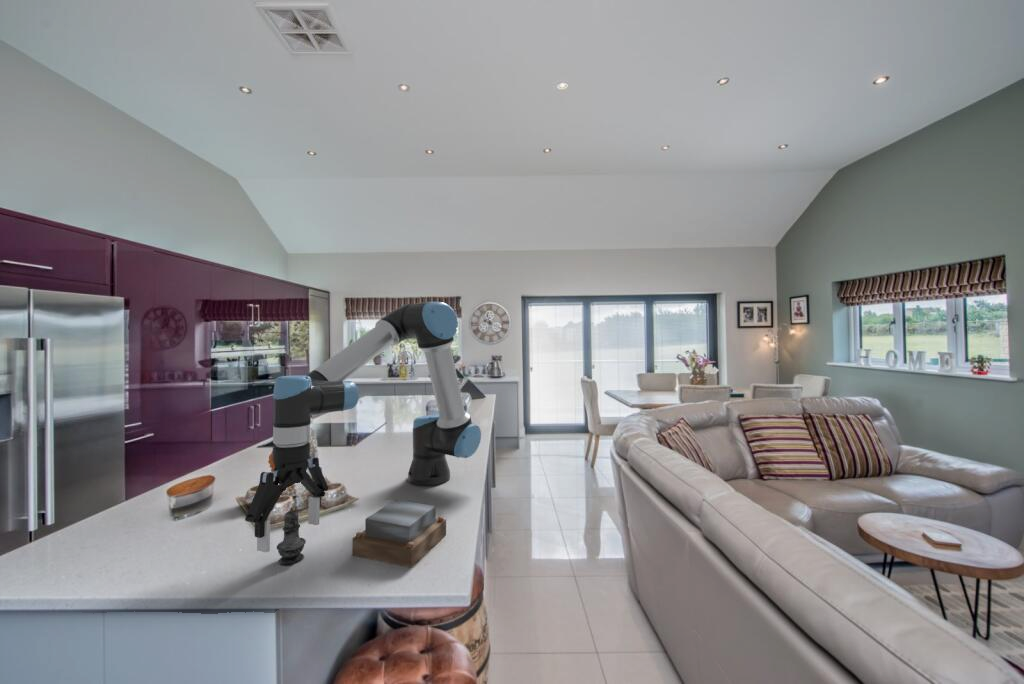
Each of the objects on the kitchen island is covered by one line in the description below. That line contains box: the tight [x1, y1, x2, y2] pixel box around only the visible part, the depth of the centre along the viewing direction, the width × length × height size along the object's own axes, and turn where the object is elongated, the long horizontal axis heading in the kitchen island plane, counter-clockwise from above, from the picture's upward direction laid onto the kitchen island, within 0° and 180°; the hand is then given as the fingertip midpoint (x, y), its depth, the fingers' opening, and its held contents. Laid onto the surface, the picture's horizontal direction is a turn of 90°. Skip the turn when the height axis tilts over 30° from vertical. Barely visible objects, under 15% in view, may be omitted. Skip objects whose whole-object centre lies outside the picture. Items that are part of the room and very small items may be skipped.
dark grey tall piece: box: [276, 506, 307, 567], centre depth 92 cm, size 6×6×12 cm
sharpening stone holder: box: [351, 499, 447, 569], centre depth 98 cm, size 16×16×8 cm
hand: (290, 536), depth 91 cm, fingers open, 13 cm apart
